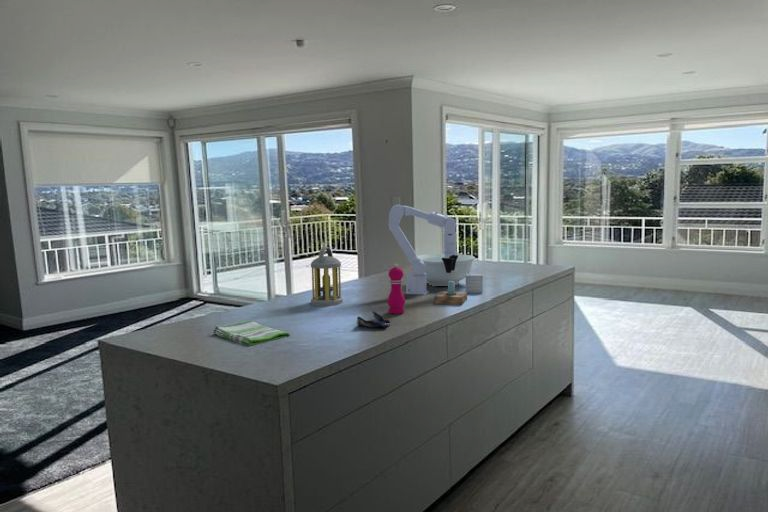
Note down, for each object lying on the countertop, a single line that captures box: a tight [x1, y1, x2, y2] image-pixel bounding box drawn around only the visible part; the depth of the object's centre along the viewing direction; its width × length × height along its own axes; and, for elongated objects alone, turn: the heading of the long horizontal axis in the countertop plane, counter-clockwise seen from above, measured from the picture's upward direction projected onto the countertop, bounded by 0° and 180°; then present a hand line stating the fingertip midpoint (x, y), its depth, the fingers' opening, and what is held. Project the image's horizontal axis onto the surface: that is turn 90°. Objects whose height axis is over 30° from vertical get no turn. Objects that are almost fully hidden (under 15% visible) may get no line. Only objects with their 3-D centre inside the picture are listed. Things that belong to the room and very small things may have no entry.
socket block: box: [434, 290, 468, 306], centre depth 243 cm, size 12×12×4 cm
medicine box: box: [465, 273, 484, 294], centre depth 263 cm, size 8×4×9 cm, turn 84°
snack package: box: [356, 311, 391, 328], centre depth 202 cm, size 12×6×12 cm
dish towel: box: [212, 320, 291, 347], centre depth 193 cm, size 17×23×4 cm
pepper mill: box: [386, 263, 406, 315], centre depth 223 cm, size 7×7×20 cm
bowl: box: [417, 253, 476, 287], centre depth 286 cm, size 32×32×15 cm
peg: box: [447, 281, 456, 295], centre depth 243 cm, size 3×3×9 cm
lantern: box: [310, 246, 344, 307], centre depth 245 cm, size 14×14×25 cm
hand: (450, 271), depth 262 cm, fingers open, 7 cm apart
